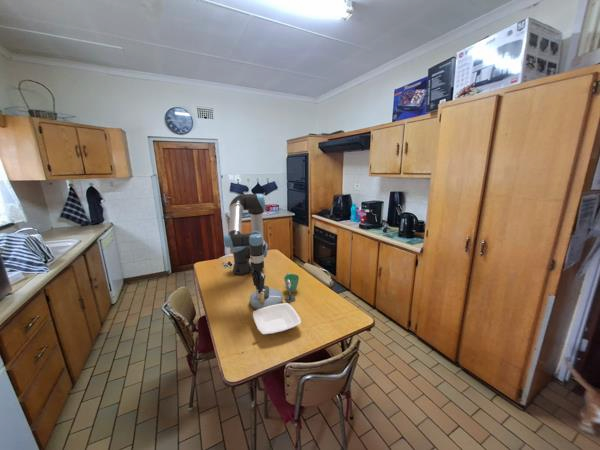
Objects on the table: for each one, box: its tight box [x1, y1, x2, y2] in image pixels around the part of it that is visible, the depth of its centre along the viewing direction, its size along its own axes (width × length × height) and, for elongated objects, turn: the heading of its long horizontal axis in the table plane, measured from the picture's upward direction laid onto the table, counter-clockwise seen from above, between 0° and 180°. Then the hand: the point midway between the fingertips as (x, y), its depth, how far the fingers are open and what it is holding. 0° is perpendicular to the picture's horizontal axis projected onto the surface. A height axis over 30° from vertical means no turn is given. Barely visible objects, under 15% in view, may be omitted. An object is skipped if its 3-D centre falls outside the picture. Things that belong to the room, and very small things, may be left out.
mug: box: [283, 272, 300, 293], centre depth 165 cm, size 15×10×10 cm
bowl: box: [252, 302, 302, 335], centre depth 128 cm, size 22×23×6 cm
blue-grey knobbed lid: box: [249, 287, 283, 310], centre depth 149 cm, size 20×20×10 cm
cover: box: [255, 285, 270, 299], centre depth 149 cm, size 8×8×5 cm
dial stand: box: [284, 279, 296, 304], centre depth 151 cm, size 5×5×14 cm
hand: (259, 297), depth 144 cm, fingers closed
